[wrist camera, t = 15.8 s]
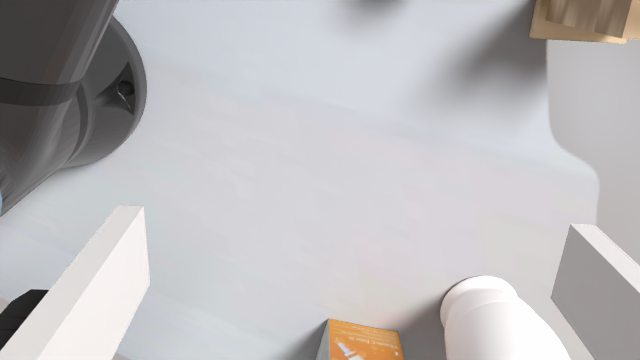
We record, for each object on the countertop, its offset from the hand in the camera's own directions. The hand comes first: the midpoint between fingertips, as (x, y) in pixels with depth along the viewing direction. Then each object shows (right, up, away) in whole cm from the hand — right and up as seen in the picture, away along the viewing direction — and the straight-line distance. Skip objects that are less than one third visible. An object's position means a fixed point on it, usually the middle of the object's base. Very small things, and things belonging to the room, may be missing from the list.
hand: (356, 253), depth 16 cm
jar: (+16, -11, +40) cm, 44 cm away
